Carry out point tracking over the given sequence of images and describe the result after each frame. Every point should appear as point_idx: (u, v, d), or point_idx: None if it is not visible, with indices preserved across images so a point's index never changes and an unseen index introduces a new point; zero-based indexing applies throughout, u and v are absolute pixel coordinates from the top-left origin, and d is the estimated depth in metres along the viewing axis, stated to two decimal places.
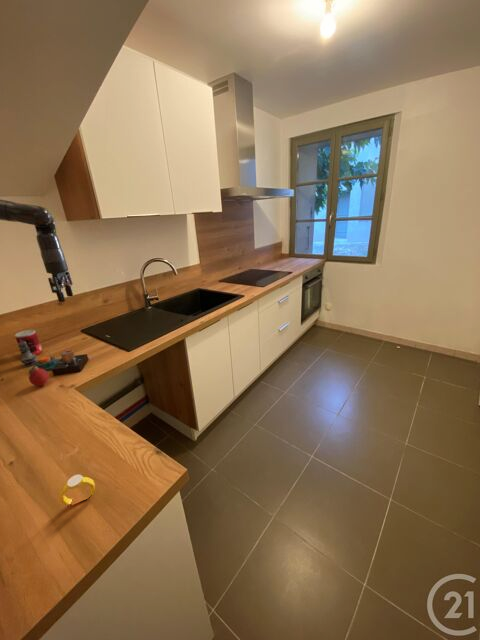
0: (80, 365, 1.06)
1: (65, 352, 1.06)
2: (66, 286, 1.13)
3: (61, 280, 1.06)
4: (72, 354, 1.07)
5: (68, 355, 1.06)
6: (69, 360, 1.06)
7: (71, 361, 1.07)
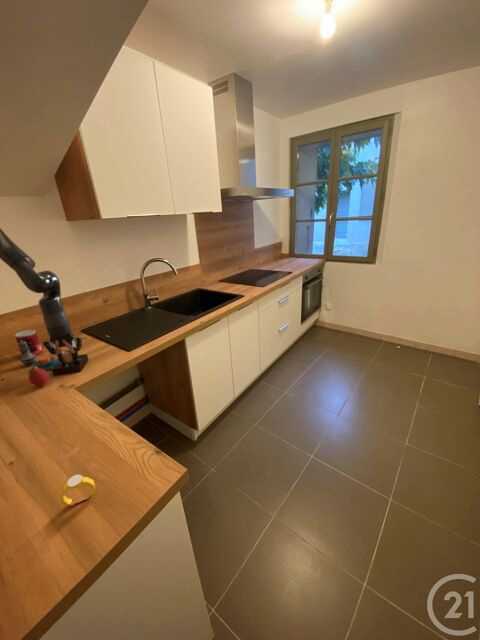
0: (80, 365, 1.06)
1: (65, 352, 1.06)
2: None
3: (54, 343, 1.03)
4: None
5: (68, 355, 1.06)
6: (69, 360, 1.06)
7: (71, 361, 1.07)
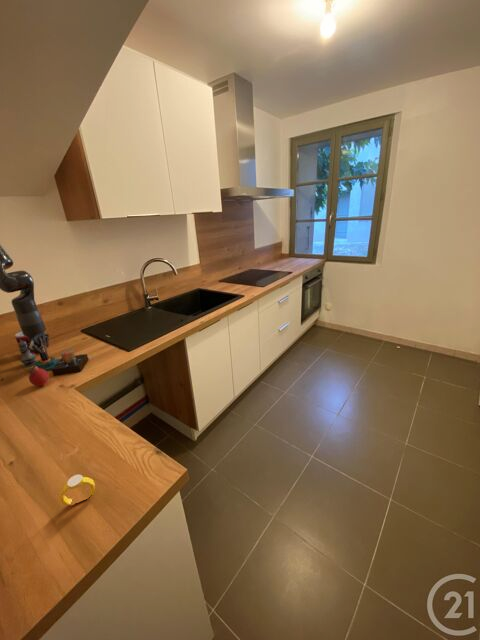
0: (80, 365, 1.06)
1: (65, 351, 1.07)
2: None
3: None
4: (63, 357, 1.05)
5: (61, 355, 1.06)
6: None
7: None
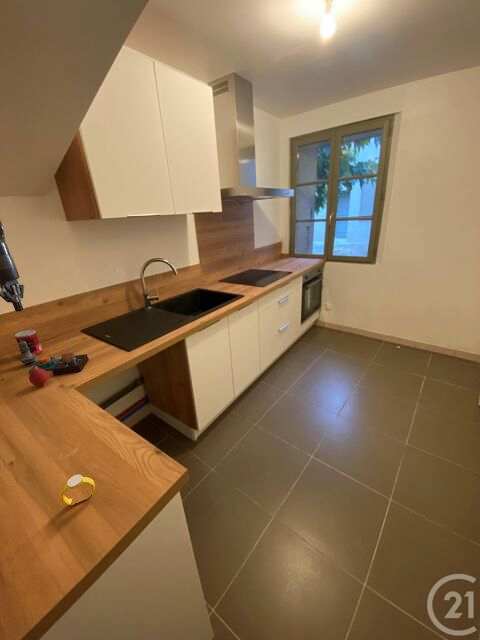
0: (80, 365, 1.06)
1: (65, 351, 1.07)
2: None
3: None
4: (63, 357, 1.05)
5: (61, 355, 1.06)
6: None
7: None
